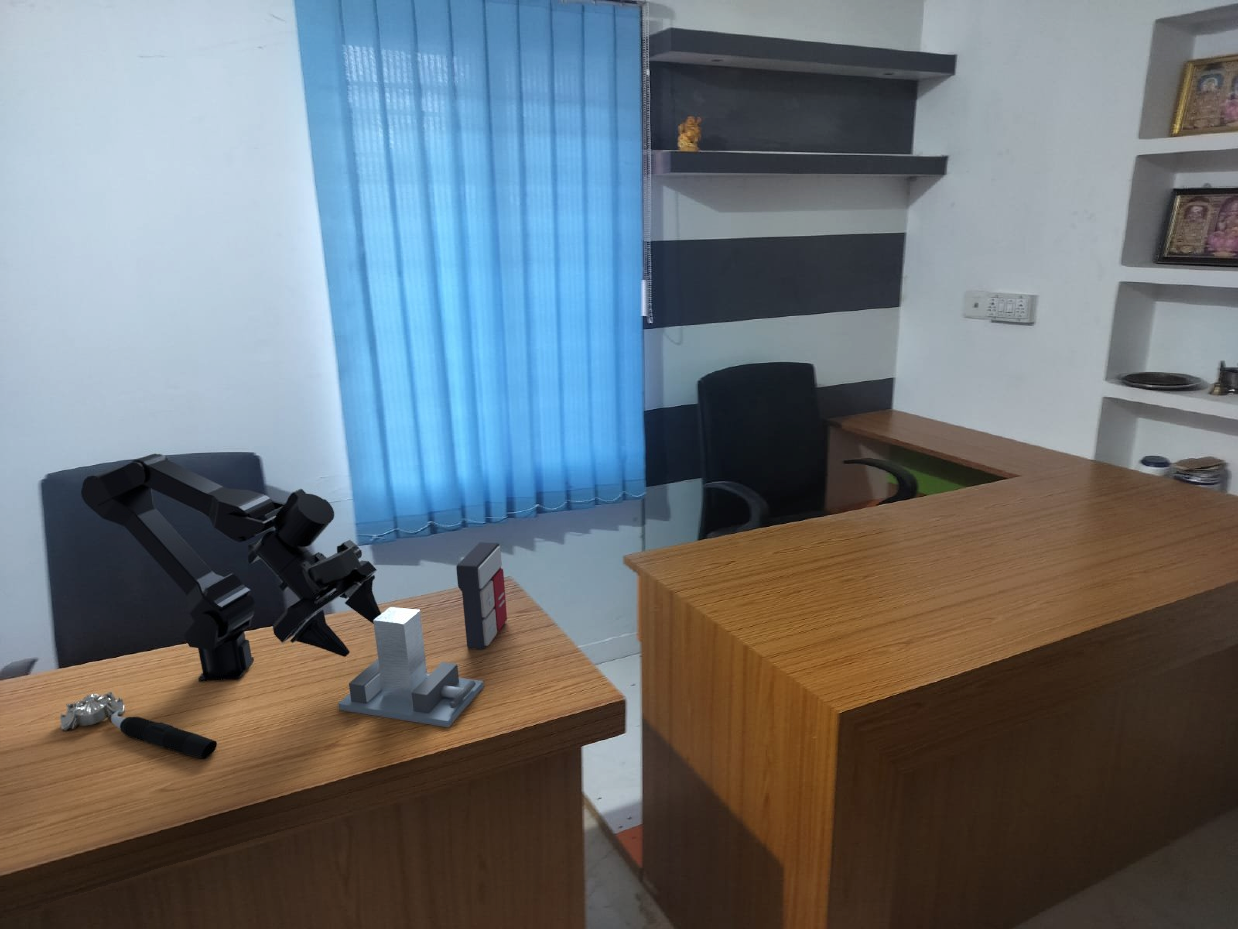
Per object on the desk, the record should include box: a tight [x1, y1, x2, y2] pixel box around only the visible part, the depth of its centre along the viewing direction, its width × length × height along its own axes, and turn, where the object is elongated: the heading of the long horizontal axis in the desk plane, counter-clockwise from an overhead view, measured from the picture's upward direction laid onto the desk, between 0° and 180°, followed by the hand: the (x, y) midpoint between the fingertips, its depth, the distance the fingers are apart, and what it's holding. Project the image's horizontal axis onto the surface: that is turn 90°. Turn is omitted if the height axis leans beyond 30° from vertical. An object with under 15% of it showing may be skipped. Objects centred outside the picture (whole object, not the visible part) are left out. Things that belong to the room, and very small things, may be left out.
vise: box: [337, 658, 485, 728], centre depth 123 cm, size 18×11×4 cm, turn 73°
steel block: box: [373, 606, 428, 701], centre depth 122 cm, size 4×5×12 cm
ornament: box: [59, 691, 126, 731], centre depth 121 cm, size 8×7×4 cm
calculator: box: [455, 541, 508, 650], centre depth 140 cm, size 11×4×15 cm, turn 168°
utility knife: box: [110, 709, 218, 760], centre depth 115 cm, size 22×4×3 cm, turn 66°
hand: (366, 640), depth 123 cm, fingers open, 9 cm apart
